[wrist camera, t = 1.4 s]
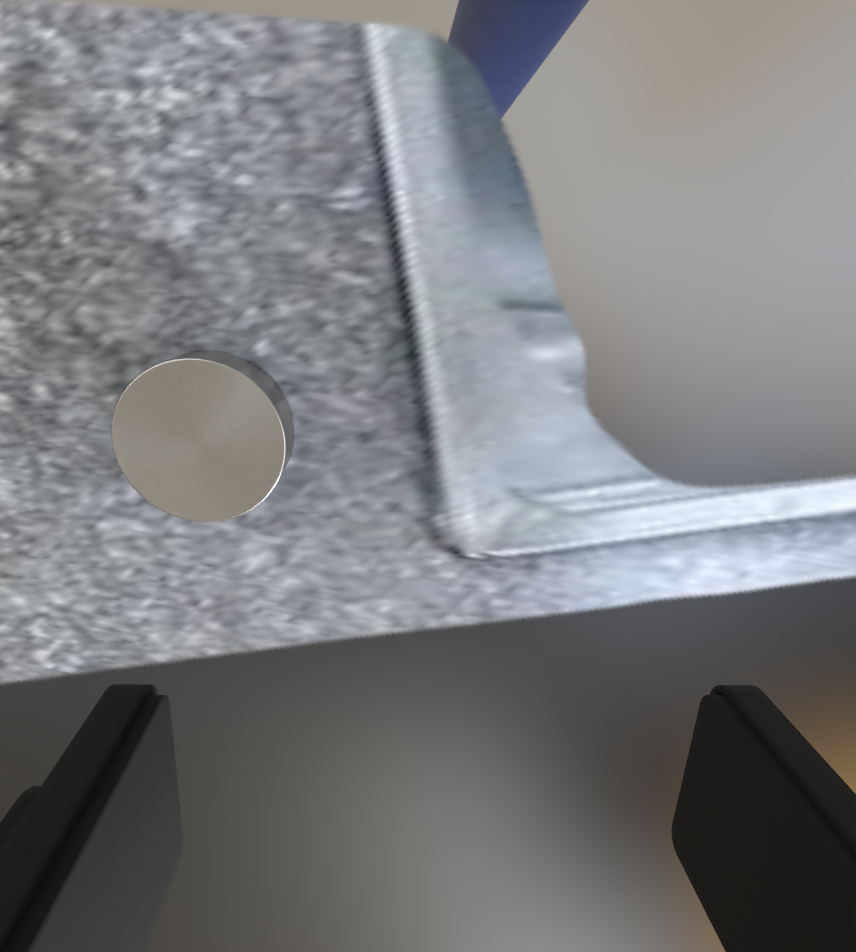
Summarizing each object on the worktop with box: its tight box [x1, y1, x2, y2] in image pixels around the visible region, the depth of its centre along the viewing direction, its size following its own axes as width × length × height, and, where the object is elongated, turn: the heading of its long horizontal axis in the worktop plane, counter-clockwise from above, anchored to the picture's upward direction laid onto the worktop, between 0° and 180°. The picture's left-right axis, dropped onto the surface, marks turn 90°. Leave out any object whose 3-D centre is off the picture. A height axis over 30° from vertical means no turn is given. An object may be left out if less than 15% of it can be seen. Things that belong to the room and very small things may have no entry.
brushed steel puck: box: [112, 351, 294, 522], centre depth 26 cm, size 7×7×2 cm
